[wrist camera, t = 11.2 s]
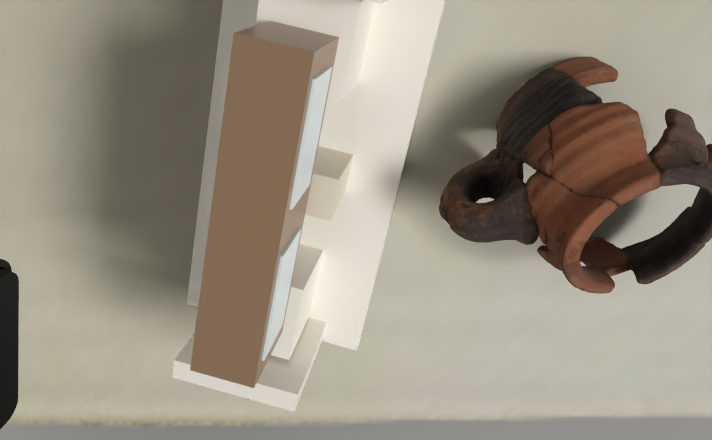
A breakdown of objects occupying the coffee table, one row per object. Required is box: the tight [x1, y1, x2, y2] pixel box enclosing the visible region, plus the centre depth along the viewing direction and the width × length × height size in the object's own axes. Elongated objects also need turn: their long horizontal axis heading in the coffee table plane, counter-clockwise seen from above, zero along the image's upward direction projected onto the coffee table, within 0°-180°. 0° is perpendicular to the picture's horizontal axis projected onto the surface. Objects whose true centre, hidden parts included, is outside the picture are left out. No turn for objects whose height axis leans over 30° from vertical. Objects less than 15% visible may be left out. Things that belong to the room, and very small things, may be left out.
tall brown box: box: [190, 21, 339, 388], centre depth 27 cm, size 14×3×4 cm, turn 168°
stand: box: [172, 0, 445, 412], centre depth 30 cm, size 20×10×8 cm, turn 168°
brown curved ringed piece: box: [439, 57, 712, 293], centre depth 30 cm, size 12×10×8 cm
